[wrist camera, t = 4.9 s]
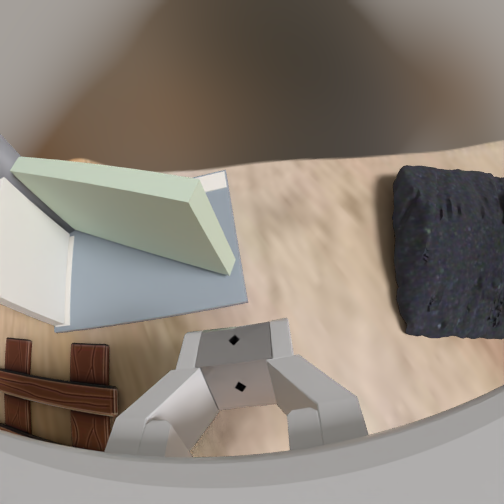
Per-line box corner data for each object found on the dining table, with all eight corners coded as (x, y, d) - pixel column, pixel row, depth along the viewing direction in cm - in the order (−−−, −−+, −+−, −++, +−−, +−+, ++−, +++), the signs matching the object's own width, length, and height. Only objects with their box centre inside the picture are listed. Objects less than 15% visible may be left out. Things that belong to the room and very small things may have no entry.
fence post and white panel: (76, 325, 22) (-42, 271, 11) (55, 328, 22) (-59, 278, 11) (83, 210, 26) (4, 127, 16) (64, 217, 26) (-16, 140, 16)
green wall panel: (74, 229, 25) (9, 170, 16) (80, 217, 25) (18, 156, 17) (229, 275, 21) (188, 202, 13) (235, 259, 21) (199, 179, 13)
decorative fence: (-32, 333, 24) (-30, 457, 18) (-43, 330, 22) (-41, 457, 16) (125, 346, 22) (137, 528, 15) (113, 343, 20) (127, 535, 14)
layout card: (248, 302, 21) (246, 300, 21) (57, 333, 22) (53, 331, 21) (226, 172, 26) (225, 169, 25) (65, 218, 26) (62, 215, 26)
